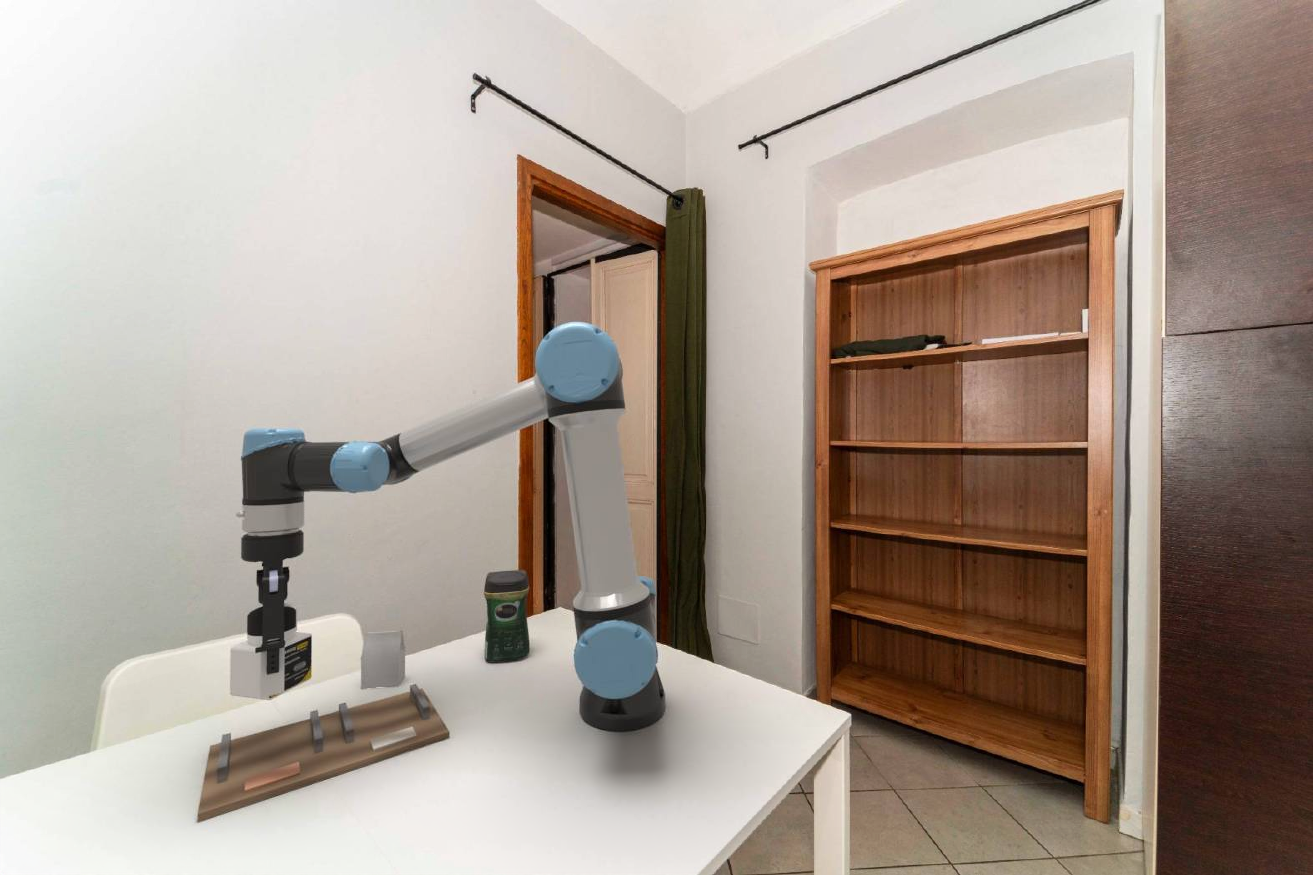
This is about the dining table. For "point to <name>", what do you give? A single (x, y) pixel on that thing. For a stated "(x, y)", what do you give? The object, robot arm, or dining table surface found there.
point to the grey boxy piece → (383, 659)
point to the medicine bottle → (249, 663)
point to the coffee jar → (506, 616)
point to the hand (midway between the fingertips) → (272, 680)
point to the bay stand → (315, 750)
